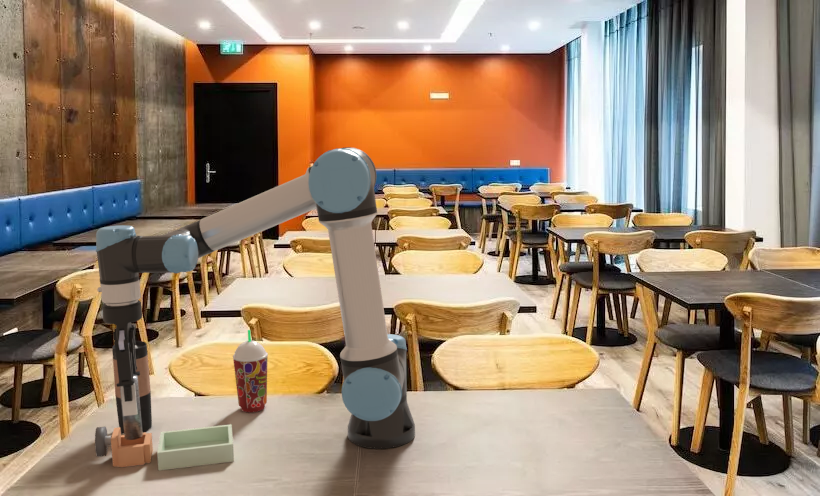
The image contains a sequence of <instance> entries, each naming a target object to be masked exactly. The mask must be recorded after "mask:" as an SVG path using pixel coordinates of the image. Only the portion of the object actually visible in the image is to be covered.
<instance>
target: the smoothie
mask: <svg viewBox="0 0 820 496" xmlns="http://www.w3.org/2000/svg"><path fill="white" fill-rule="evenodd" d="M251 333H252V332H251V329H248V330H247V340H246V341H243V342H242V343H240V344H239V345H237V348H236V349H235V351H234V354H233V355H232V359H233V369H234V375H235V384H236V393H237V402H238V406H239V407H240V409H241V411H242V412H244V413H257V412H261V411H262V410H264V409H265V406H266V404H267V403H268V402H267V401H268V355H269V353H268V352H267V351H266V349H265V348H264V346H263V344H261V343H259V341H256V340H252V335H251Z"/></svg>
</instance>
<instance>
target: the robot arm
mask: <svg viewBox="0 0 820 496" xmlns="http://www.w3.org/2000/svg"><path fill="white" fill-rule="evenodd" d="M377 177H378V176H377V169H376V165H375V163H374V161H373V160H372V158H371V157H370V155H368V153H366V152H365V151H363V150H361V149H359V148H356V147H351V146H350V147H349V146H348V147H340V148H334V149H331V150H329V149H328V150H327V151H325V152H324V153H323V154H321V155H320V156H318V158H316V159H315V161H314V163H313V164H312V166H309V167H307V168H306V171H305V174H302V175H301V176H298V177H295V178H293V179H292V180H289V181H286V182H284V183H282V184H280V185H276V186H274V187H273V188H270V189H268V190H265V191H264V192H261V193H259V194H257V195H254V196H251V197H249V198H247V199H245V200H243V201H240V202H238V203H235V204H233V205H231V206H228V207H226V208H224V209H222V210H219V211H218V212H215V213H213V214H210V215H207V216H205V217H204V218H201V219H199V220H196V221H194V222H191V223H189V224H186V225H183V226H182V227H180V228H177V229H176V230H175V229H174V230H172V231H169V232H167V233H164V234H162V235H137V233H136V230H135V227H134V226H132V225H125V224H124V225H110V226H109V225H108V226H104V227H100V228H98V230H97V231H96V233H95V241H96V242H95V243H96V245H95V246H96V247H95V249H96V250H95V252H96V257H97V265H98V266H97V267H98V274H99V285H100V286H99V287H97V289H96V290H97V292H99V293H101V294H100V296H101V297H100V298H101V302H102V303H103V304H102V305H101V310H102V321H103V322H104V323H105V324H108V325H115V328H114V331H112V338H113V340H114V342H113V346H114V345H115V351H116V358H117V367H118V377H119V383H117V384H116V385H117V387H120V386H121V396H122V407H123V416H129V415H137V414H138V413H137V401H136V390H135V383H134V381H133V374H135V375H137V376H140V371H138V372H136V370H137V365H136V353H135V341H136V336H135V335H136V327H135V326H134V324H132V323H135V322H138V321H139V320H141V319H142V318H143V308H142V302H141V300H140V299H141V298H142V293H141V280H140V276H139V274H145V273H148V274H149V273H151V274H152V273H154V274H158V273H159V274H160V273H161V274H162V273H166V274H167V273H168V274H170V273H172V274H173V273H174V274H180V273H188V272H192V271H193V270H195V269H196V266H197V264H198V262H199V261H198V260H199V259H200V258H202V257H205V256H207V255H210V254H211V253H214V252H216V251H218V250H221V249H223V248H226V247H228V246H230V245H232V244H234V243H238V242H240V241H242V240H244V239H247V238H249V237H251V236H254V235H256V234H258V233H261V232H264V231H266V230H268V229H271V228H273V227H276V226H277V225H280V224H283V223H285V222H287V221H289V220H293V219H294V218H297V217H299V216H301V215H304V214H307V213H309V212H312V211H313V210H316V213H317V219H318V223H320V224H321V225H322V226H324V227H325V228H326V230H327V232H328V237H329V244H330V249H331V259H332V265H333V270H334V271H333V272H334V277H335V278H334V279H335V283H336V284H335V285H336V289H337V290H336V291H337V296H338V303H339V309H340V314H341V322H342V328H343V334H344V339H345V340H344V341H345V346H344V348H343V349H342V350H341V352H340V354H339V357H340V362H341V363H340V365H341V370H342V377H343V383H342V385H341V399H342V402H343V405H344V406H345V408H346V410H347V411H348V413H350V414H351V415H350V417H349V421H348V425H347V438H348V440H349V441H350V442H351V443H352V444H354V445H357V446H358V447H363V448H368V449H381V450H382V449H390V448H391V449H392V448H396V447H400V446H404V445H406V444H408V443H410V442H411V441H413V439H414V438H415V436H416V425H415V424H416V423H415V422H414V418H413V415H412V412H411V409H410V407H409V404H408V399H407V397H408V395H407V393H408V391H407V389H408V388H407V352H408V349H407V348H408V347H407V345H406V344H407V342H406V339H405V337H404V336H402V335H398V334H391V333H388V330H387V322H386V317H385V315H386V314H385V310H384V302H383V296H382V295H383V294H382V290H381V289H382V288H381V282H380V276H379V269H378V268H379V267H378V262H377V255H376V254H377V253H376V247H375V242H374V235H373V227H372V226H373V225H372V222H373V220H374V219H375V218H376V216H378V208H377V202H376V201H377V200H376V194H375V186H376V183H377Z"/></svg>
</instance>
